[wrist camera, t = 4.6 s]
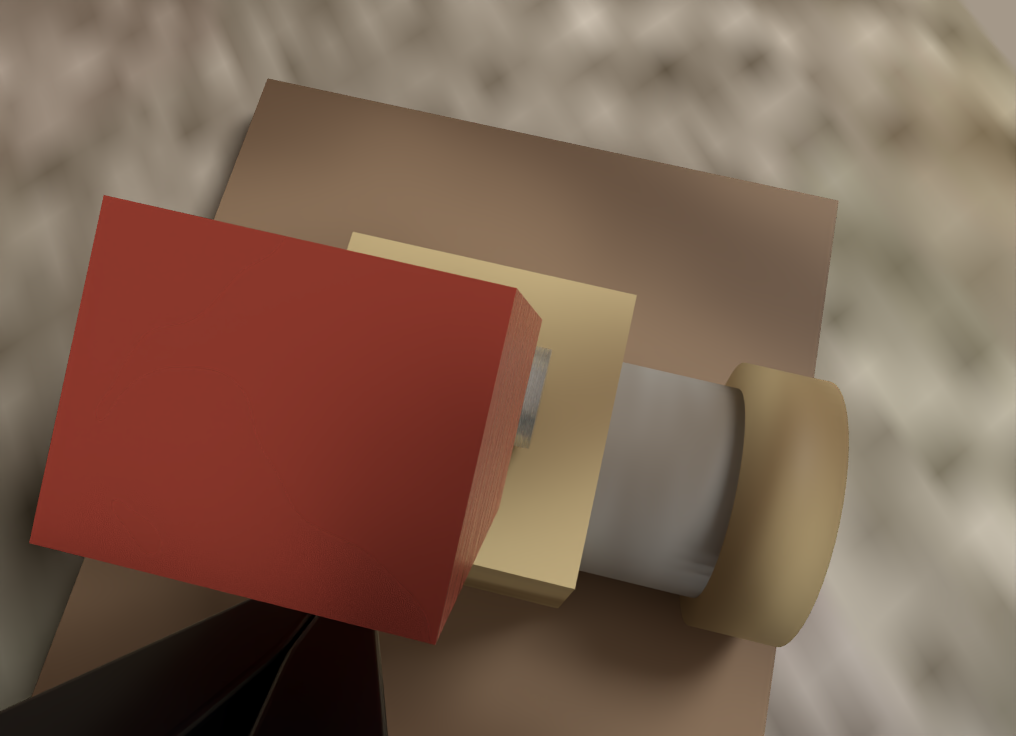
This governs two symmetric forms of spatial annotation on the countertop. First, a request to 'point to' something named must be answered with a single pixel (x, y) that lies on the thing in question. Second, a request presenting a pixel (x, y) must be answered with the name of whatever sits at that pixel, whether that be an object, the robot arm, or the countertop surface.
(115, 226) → the lever
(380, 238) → the valve stand
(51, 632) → the countertop surface
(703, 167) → the countertop surface
